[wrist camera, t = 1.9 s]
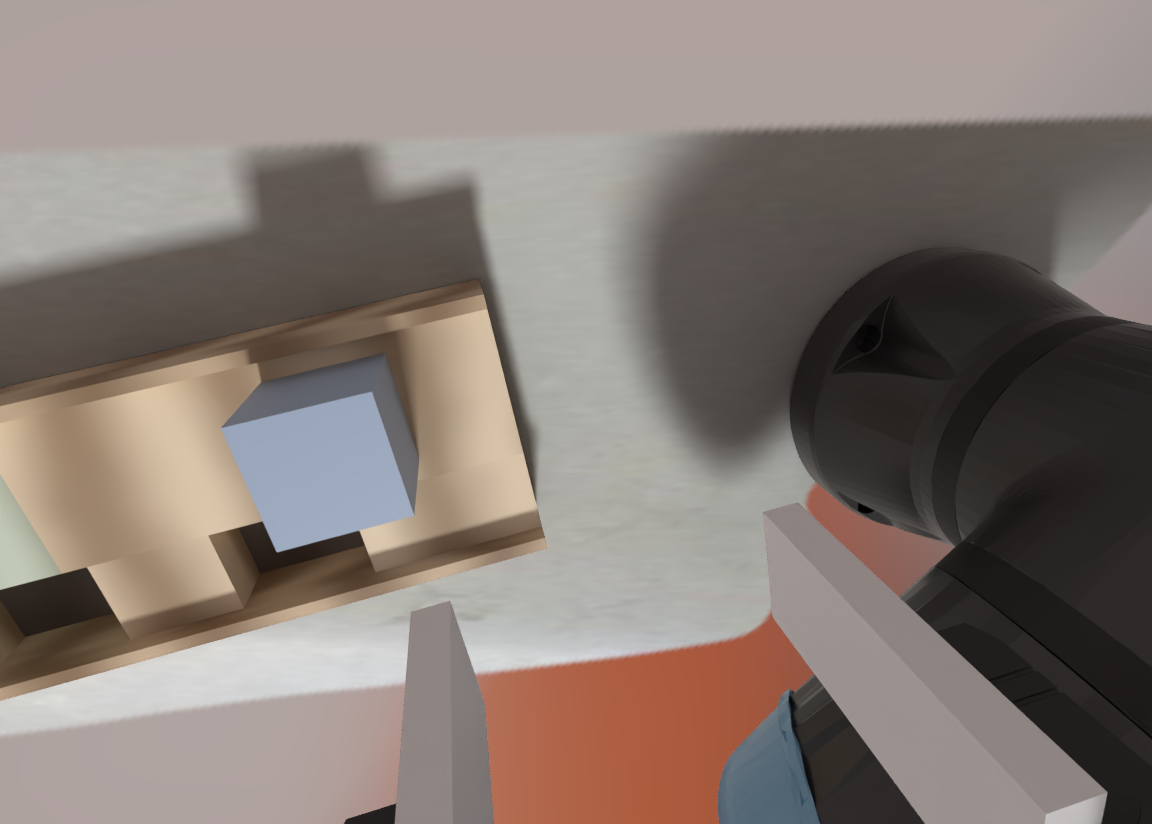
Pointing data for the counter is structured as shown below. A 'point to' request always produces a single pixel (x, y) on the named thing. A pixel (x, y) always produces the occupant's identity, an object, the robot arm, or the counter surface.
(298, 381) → the block
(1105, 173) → the counter surface
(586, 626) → the counter surface
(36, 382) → the board
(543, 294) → the counter surface
